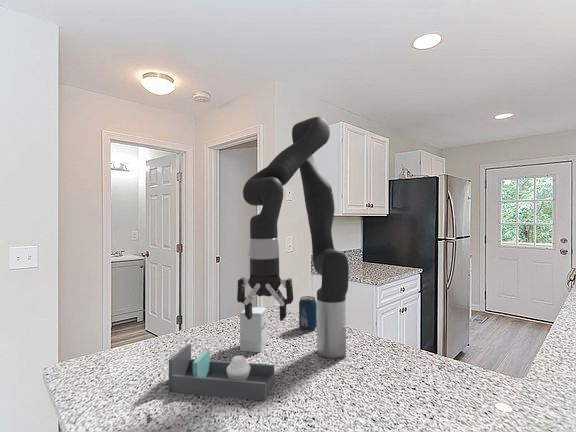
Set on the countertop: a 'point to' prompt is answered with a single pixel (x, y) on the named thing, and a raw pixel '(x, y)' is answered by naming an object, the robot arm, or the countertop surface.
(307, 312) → the soda can
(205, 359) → the teal flat slab
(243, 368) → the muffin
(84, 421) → the countertop surface
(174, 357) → the pusher lane
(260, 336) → the supplement box
